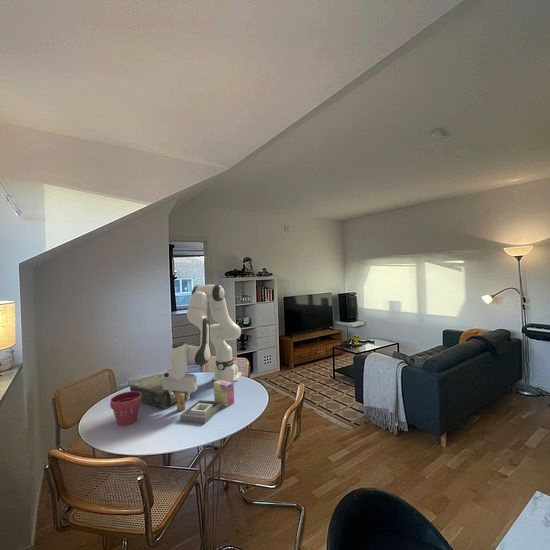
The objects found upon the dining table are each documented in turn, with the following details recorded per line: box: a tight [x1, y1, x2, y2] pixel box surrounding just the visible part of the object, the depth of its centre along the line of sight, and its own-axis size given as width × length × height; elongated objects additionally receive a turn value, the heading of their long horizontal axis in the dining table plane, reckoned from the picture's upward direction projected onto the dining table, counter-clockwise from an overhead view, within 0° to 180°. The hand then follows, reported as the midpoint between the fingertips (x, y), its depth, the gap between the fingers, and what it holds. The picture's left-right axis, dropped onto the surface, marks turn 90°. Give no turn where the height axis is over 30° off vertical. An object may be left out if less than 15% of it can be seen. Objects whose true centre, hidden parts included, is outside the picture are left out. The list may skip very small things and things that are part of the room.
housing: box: [179, 399, 223, 425], centre depth 152 cm, size 18×14×4 cm
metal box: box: [129, 373, 192, 410], centre depth 175 cm, size 21×32×10 cm, turn 58°
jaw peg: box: [176, 394, 186, 412], centre depth 158 cm, size 4×4×8 cm
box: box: [213, 380, 235, 408], centre depth 164 cm, size 10×6×12 cm, turn 56°
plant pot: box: [109, 391, 142, 427], centre depth 147 cm, size 14×14×13 cm
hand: (180, 398), depth 157 cm, fingers open, 8 cm apart
